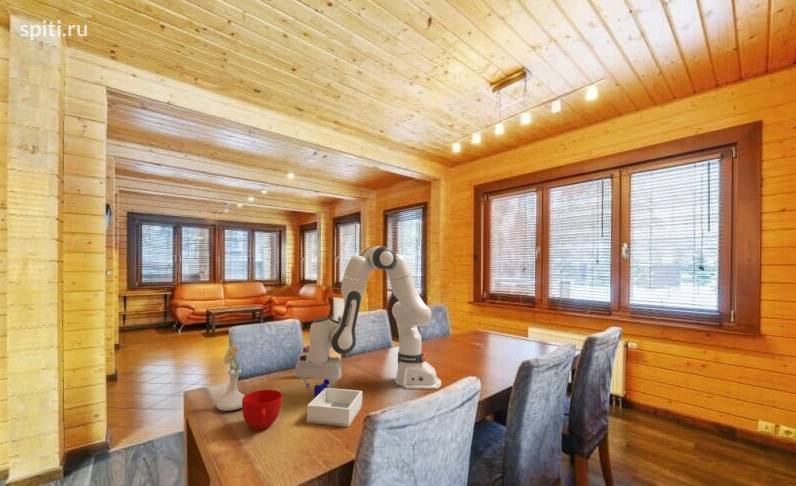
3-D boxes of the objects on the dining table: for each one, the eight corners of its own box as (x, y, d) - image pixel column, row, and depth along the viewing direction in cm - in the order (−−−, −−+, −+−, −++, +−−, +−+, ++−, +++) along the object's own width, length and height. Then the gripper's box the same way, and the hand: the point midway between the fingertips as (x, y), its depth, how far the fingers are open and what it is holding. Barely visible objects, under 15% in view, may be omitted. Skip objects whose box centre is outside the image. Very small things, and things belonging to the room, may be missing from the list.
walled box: (361, 406, 134) (362, 390, 135) (348, 426, 117) (349, 409, 118) (325, 402, 137) (325, 387, 137) (306, 422, 120) (307, 405, 120)
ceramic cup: (239, 444, 104) (241, 411, 105) (241, 420, 120) (242, 392, 120) (283, 436, 109) (284, 405, 110) (279, 415, 125) (280, 387, 126)
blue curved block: (322, 390, 151) (322, 376, 152) (331, 390, 150) (332, 377, 151) (310, 400, 139) (311, 385, 140) (320, 401, 139) (321, 386, 139)
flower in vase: (217, 403, 133) (221, 340, 135) (248, 399, 138) (252, 338, 140) (213, 417, 121) (218, 347, 123) (248, 413, 126) (251, 345, 128)
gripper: (344, 355, 148) (343, 388, 147) (300, 352, 151) (299, 384, 150) (339, 359, 141) (338, 393, 140) (294, 356, 145) (292, 389, 144)
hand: (317, 388), depth 145 cm, fingers open, 8 cm apart
